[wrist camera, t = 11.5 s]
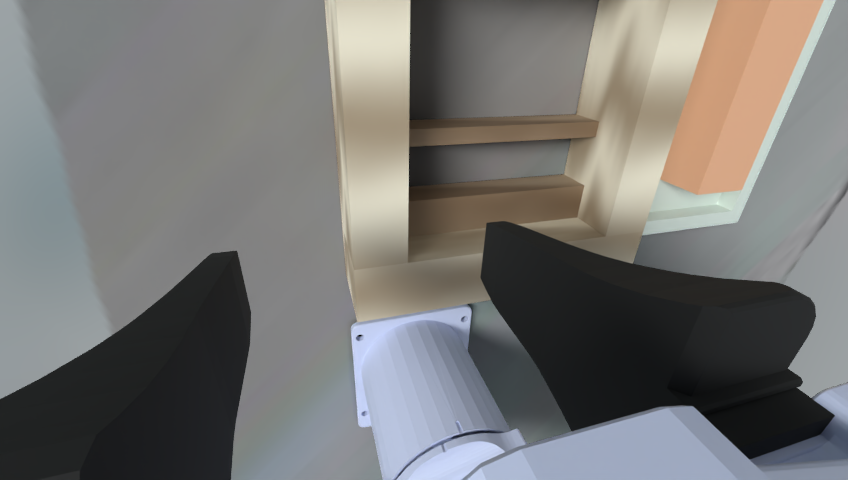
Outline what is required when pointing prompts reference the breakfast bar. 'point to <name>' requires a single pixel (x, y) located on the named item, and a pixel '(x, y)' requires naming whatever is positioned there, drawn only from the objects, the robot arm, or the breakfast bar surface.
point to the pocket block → (505, 198)
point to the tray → (696, 211)
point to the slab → (736, 91)
